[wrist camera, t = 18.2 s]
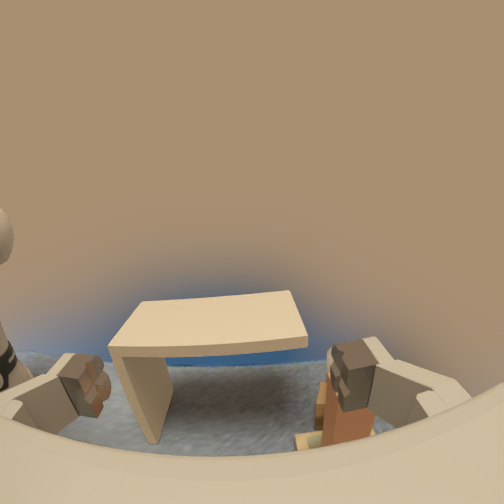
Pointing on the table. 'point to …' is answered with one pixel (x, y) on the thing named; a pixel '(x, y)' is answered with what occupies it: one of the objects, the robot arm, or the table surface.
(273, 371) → the table surface
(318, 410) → the oak block
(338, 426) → the pillar
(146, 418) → the folded cream panel
